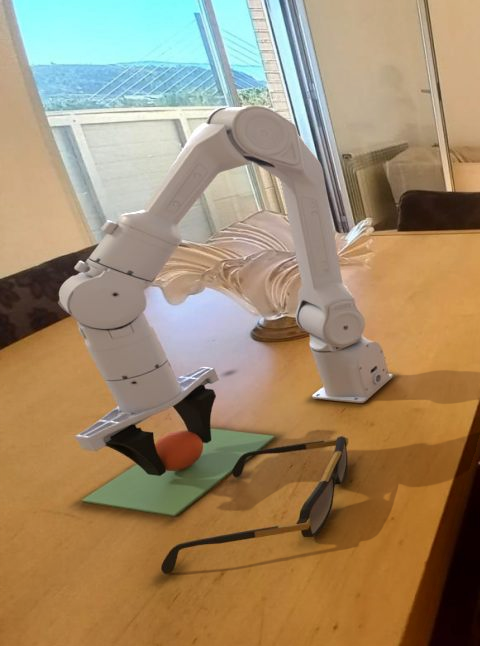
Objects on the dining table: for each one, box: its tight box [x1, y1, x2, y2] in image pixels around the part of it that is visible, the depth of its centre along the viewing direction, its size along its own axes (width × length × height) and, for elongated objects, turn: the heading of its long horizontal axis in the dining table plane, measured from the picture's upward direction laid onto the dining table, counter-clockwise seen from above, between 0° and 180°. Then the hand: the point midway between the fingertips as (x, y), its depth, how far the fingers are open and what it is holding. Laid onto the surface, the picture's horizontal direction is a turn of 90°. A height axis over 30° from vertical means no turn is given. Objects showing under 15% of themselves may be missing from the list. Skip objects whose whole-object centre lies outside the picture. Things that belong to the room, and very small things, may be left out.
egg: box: [154, 430, 203, 471], centre depth 62 cm, size 5×5×5 cm
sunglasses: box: [160, 435, 349, 575], centre depth 55 cm, size 14×15×5 cm
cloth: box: [81, 428, 276, 517], centre depth 63 cm, size 14×14×1 cm
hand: (181, 456), depth 62 cm, fingers open, 5 cm apart
